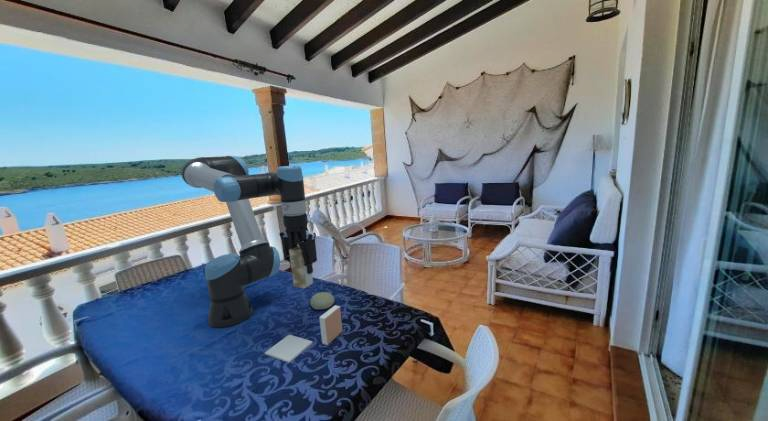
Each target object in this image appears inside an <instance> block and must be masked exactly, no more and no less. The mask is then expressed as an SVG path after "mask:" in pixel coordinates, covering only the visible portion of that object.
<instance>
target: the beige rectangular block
mask: <svg viewBox="0 0 768 421" xmlns="http://www.w3.org/2000/svg"><path fill="white" fill-rule="evenodd" d="M289 253H290V261H291V267H290V270H291V269H292V272H291V276H292V283H293V287H294V288H300V289H306V288H307V287H309V286H310V285H312V284H314V280H313V281H312V282H310V283H309V284H306V283H305V274H304V266H303V265H304V264H305V261H304V258H303V255H302V250H301V248H300V246H299V245H297V247H295V248H293V249H289ZM308 261H309V260H308ZM312 279H313V277H312Z"/></svg>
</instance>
